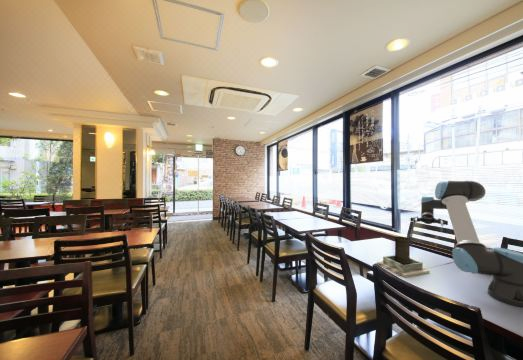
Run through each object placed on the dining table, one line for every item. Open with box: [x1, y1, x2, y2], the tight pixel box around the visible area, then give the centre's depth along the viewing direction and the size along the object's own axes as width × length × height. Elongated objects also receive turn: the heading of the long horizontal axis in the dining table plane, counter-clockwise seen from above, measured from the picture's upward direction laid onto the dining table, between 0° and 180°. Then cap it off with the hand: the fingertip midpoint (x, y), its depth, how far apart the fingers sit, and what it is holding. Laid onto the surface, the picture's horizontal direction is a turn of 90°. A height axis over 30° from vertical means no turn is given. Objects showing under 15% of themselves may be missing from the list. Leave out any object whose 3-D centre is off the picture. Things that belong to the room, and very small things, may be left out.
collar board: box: [376, 254, 431, 278], centre depth 136 cm, size 20×20×6 cm
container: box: [394, 236, 411, 265], centre depth 136 cm, size 9×9×18 cm
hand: (428, 222), depth 139 cm, fingers open, 13 cm apart
